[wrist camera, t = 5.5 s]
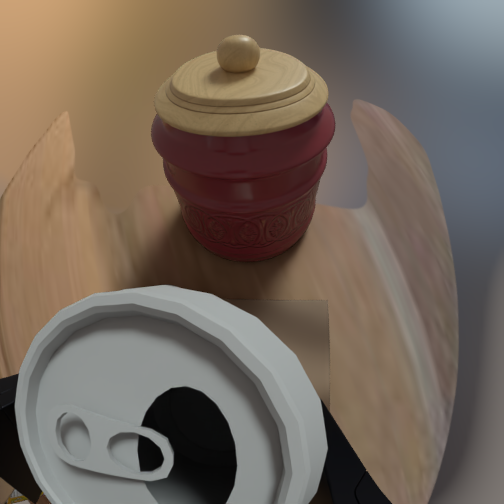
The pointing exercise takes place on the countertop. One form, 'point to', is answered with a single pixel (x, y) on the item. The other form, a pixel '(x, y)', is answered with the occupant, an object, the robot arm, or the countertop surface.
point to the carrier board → (298, 334)
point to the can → (167, 405)
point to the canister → (244, 147)
